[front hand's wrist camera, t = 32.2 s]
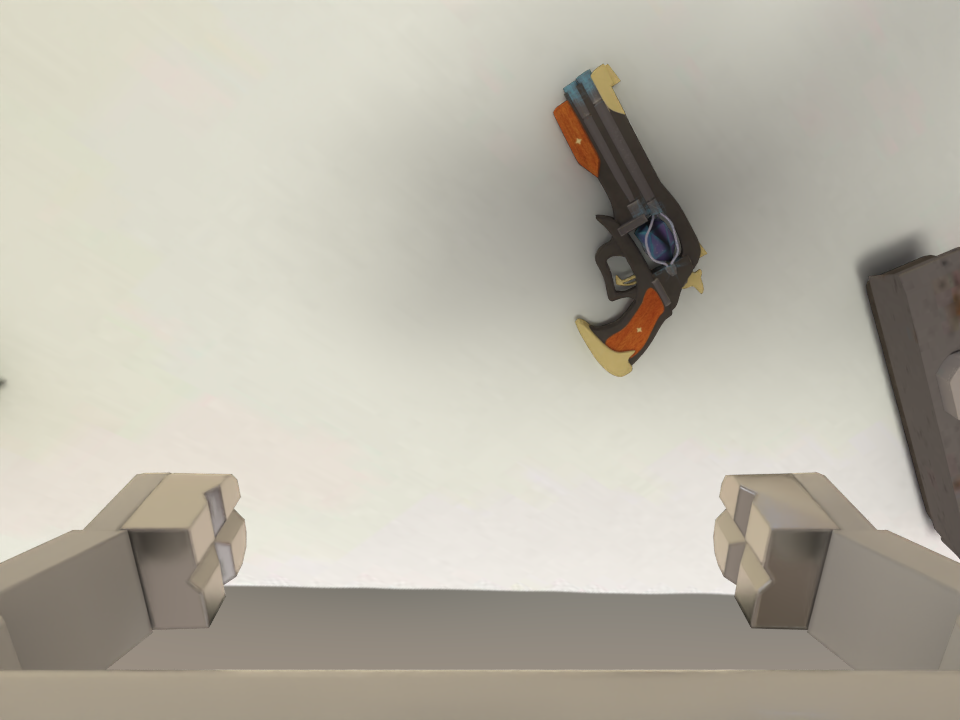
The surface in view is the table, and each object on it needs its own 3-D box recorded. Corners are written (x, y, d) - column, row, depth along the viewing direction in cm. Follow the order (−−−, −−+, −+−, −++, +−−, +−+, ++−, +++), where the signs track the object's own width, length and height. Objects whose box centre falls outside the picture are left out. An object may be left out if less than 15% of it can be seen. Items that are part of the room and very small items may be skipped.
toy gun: (610, 388, 44) (746, 322, 41) (467, 150, 40) (608, 55, 37) (608, 374, 47) (736, 310, 44) (473, 147, 42) (606, 58, 39)
